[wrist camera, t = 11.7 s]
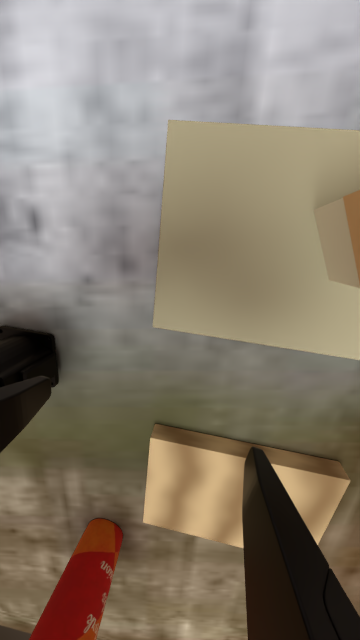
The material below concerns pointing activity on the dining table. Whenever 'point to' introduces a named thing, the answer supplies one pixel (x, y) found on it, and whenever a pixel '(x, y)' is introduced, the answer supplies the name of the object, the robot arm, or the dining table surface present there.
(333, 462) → the board
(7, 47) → the dining table surface
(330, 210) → the carton
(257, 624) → the robot arm
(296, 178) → the mat
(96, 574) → the paper cup
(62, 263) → the dining table surface
